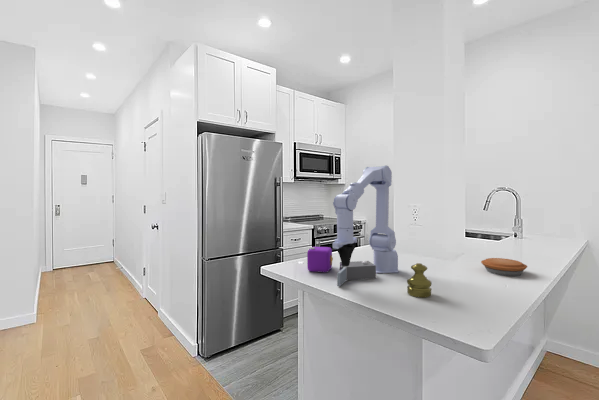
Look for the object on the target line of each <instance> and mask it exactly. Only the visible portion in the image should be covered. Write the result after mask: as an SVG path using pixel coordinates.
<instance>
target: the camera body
mask: <svg viewBox="0 0 599 400" xmlns="http://www.w3.org/2000/svg"><path fill="white" fill-rule="evenodd" d="M343 267H347V280H346V281H354V280H371V279H372V280H375V279H376V278H377V273H376V265H374V263H372V262H371V261H369V260H363V261H362V260H358V261H350V264H349V266H342V263H341V261H340V262H339V269H338V270H339V271H340V270H341V269H343ZM339 271H338V272H339Z"/></svg>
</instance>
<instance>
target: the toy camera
mask: <svg viewBox="0 0 599 400" xmlns="http://www.w3.org/2000/svg"><path fill="white" fill-rule="evenodd" d="M306 257H307V258H306V259H307V260H306V261H307V262H306V263H307V271H309V272H313V273H315V272H316V273H328V272H330V271H331V269H332V267H333V260H334V257H333V248H331V247H330V246H329V247H328V246H312V247H310V248H309V249H308V250H307V254H306Z"/></svg>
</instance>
